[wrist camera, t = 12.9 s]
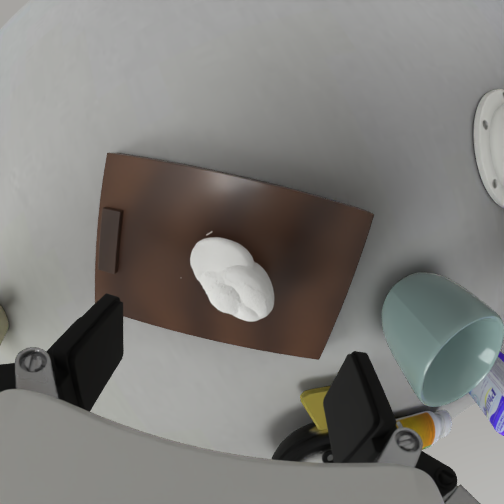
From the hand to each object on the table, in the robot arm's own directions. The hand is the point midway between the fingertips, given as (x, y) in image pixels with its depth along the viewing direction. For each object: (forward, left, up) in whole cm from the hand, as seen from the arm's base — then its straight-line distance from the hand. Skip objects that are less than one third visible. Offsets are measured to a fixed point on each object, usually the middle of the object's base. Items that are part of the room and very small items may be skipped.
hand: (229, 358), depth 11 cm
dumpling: (+1, +1, -11) cm, 11 cm away
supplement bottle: (-21, +18, -9) cm, 29 cm away
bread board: (+2, 0, -12) cm, 12 cm away
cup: (-15, 0, -12) cm, 20 cm away
